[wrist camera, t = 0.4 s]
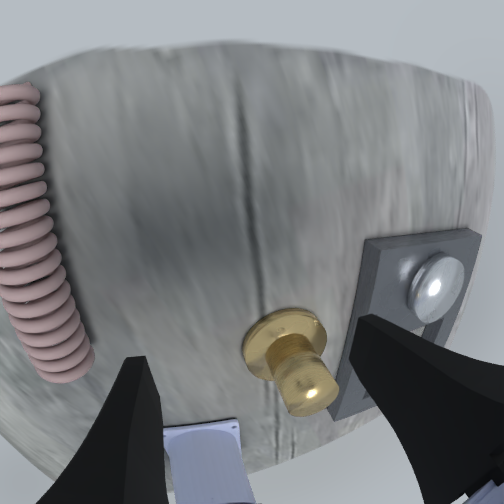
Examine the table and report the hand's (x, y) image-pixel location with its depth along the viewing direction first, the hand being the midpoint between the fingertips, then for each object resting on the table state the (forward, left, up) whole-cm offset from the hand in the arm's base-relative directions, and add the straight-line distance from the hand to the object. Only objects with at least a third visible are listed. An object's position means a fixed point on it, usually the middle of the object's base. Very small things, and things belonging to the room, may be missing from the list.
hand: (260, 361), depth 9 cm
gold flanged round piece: (-9, -5, -10) cm, 14 cm away
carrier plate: (-11, -18, -10) cm, 23 cm away
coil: (+2, +11, -10) cm, 15 cm away
